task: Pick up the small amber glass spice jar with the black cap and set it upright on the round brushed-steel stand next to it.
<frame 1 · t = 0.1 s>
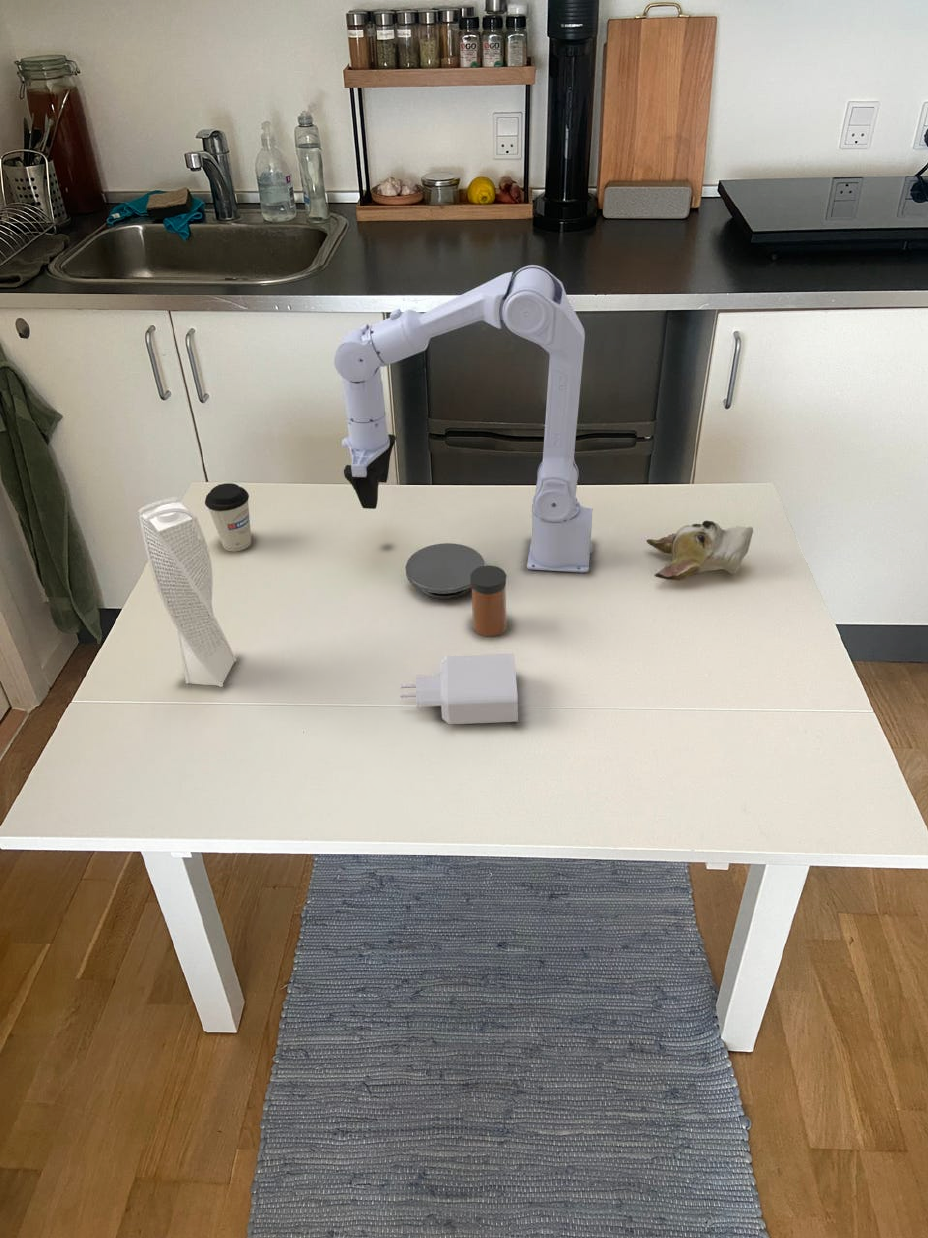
hand: (375, 494, 145), 10 cm above the table, tool pointing down, fingers open, 7 cm apart
charger: (459, 703, 123), on the table
ceramic sculpture: (697, 569, 144), on the table
spice jar: (489, 626, 135), on the table
skyscraper: (211, 674, 129), on the table
steel stand: (446, 581, 143), on the table
coffee cup: (237, 544, 154), on the table
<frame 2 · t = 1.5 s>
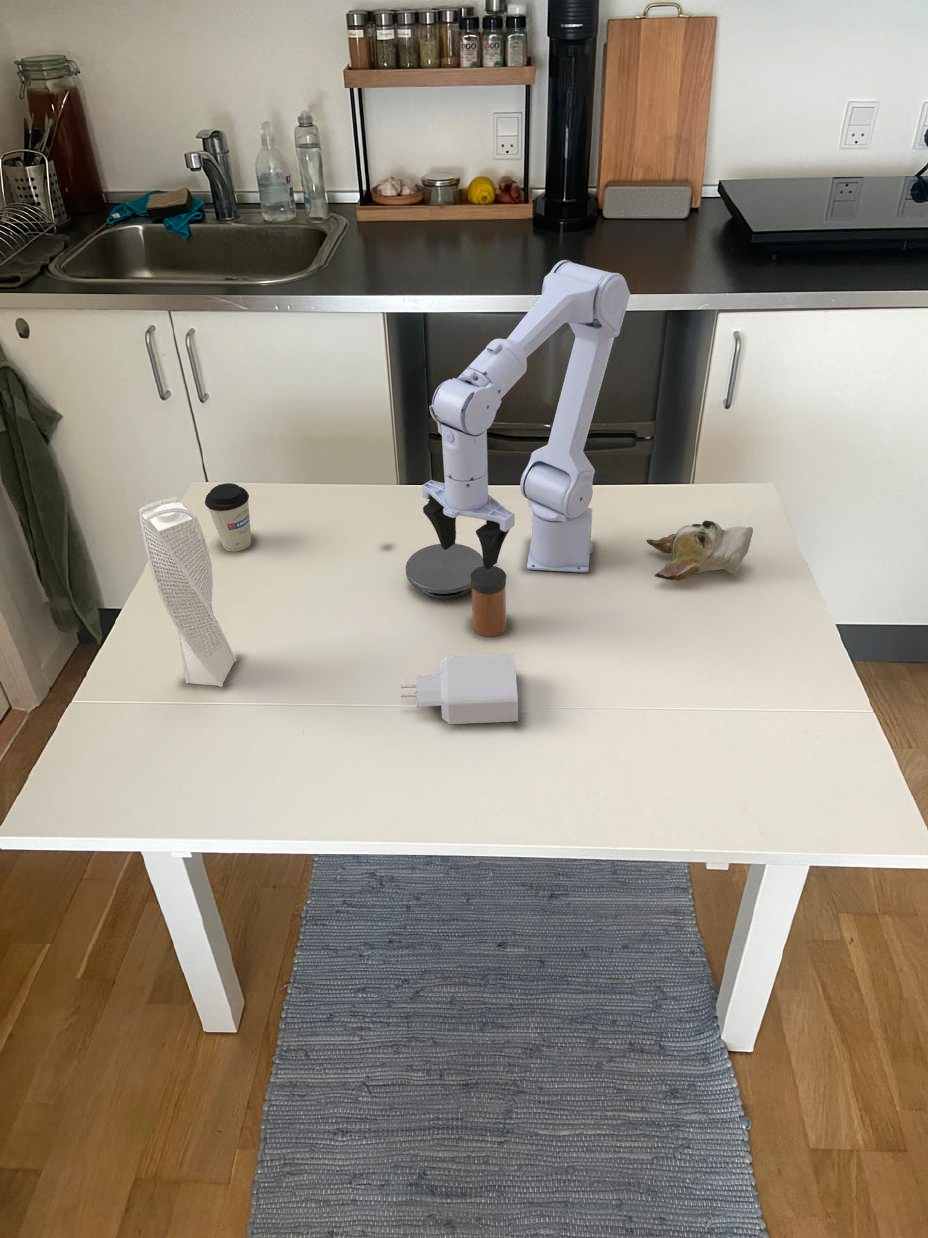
hand: (469, 555, 131), 10 cm above the table, tool pointing down, fingers open, 7 cm apart
nothing on the table moved.
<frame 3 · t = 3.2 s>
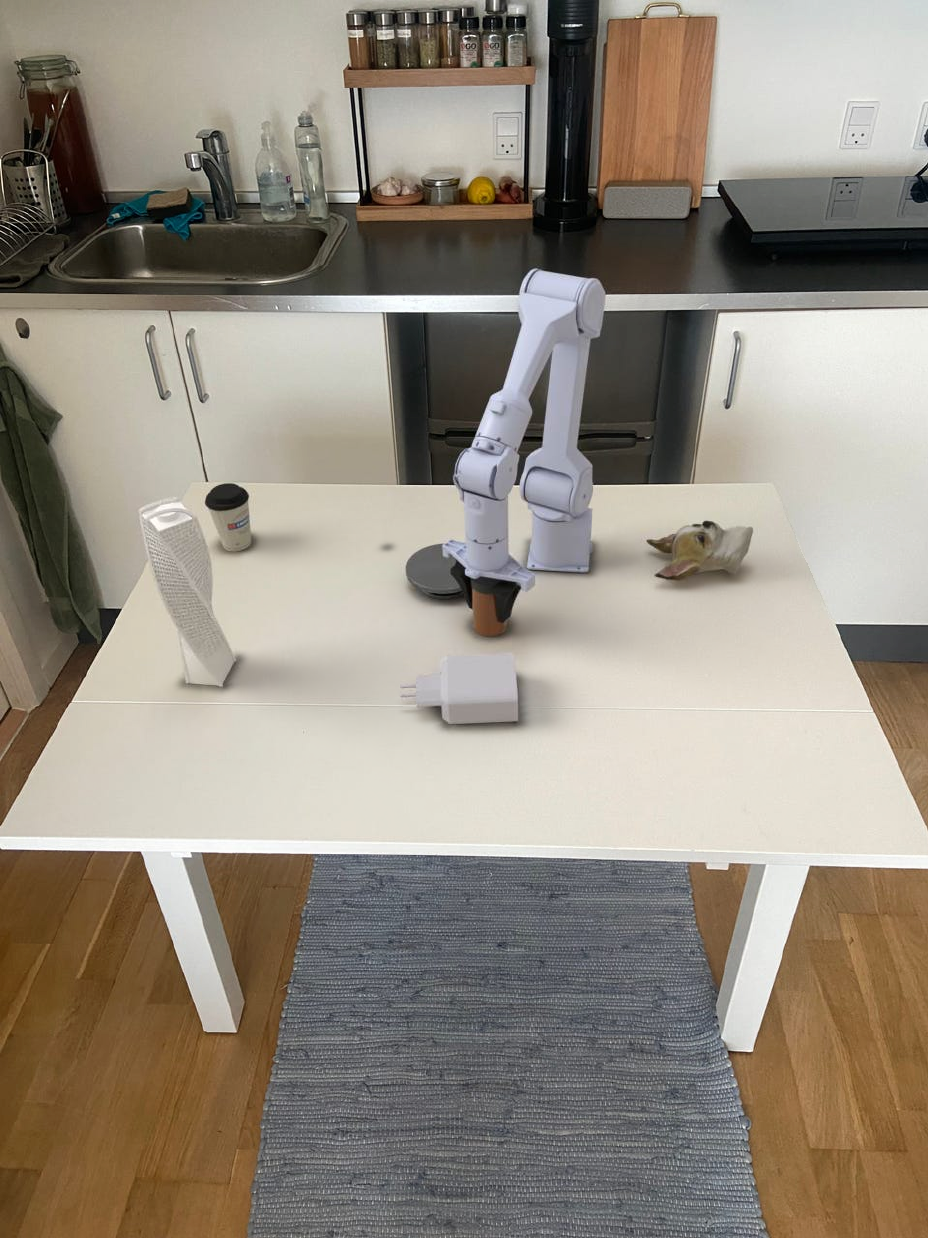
hand: (489, 611, 133), 3 cm above the table, tool pointing down, fingers closed on spice jar, 5 cm apart
spice jar: (489, 626, 135), on the table, touching gripper
everything else where it was.
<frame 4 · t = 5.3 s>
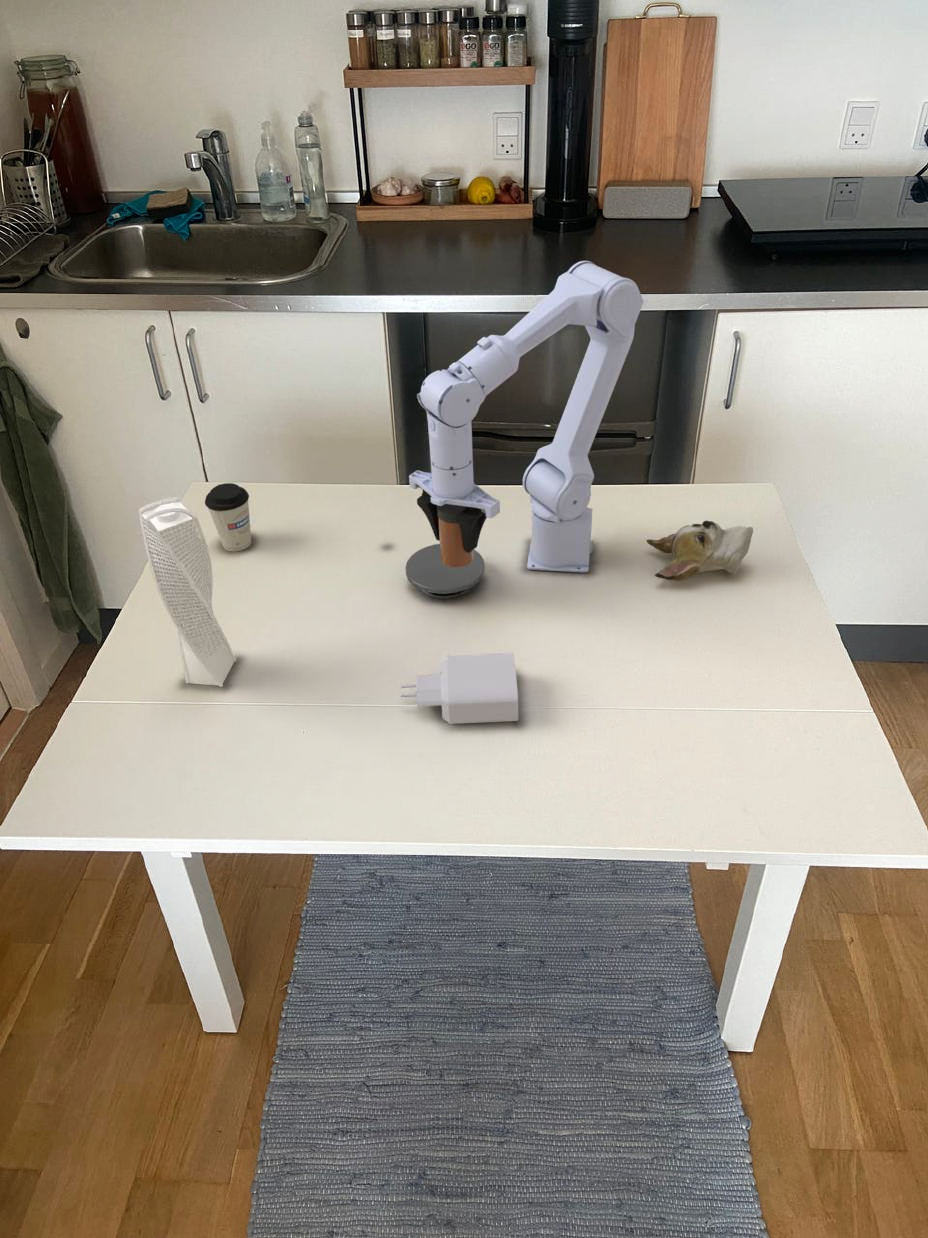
hand: (456, 542, 135), 9 cm above the table, tool pointing down, fingers closed on spice jar, 5 cm apart
spice jar: (457, 557, 136), point 7 cm above the table, touching gripper
everything else where it was.
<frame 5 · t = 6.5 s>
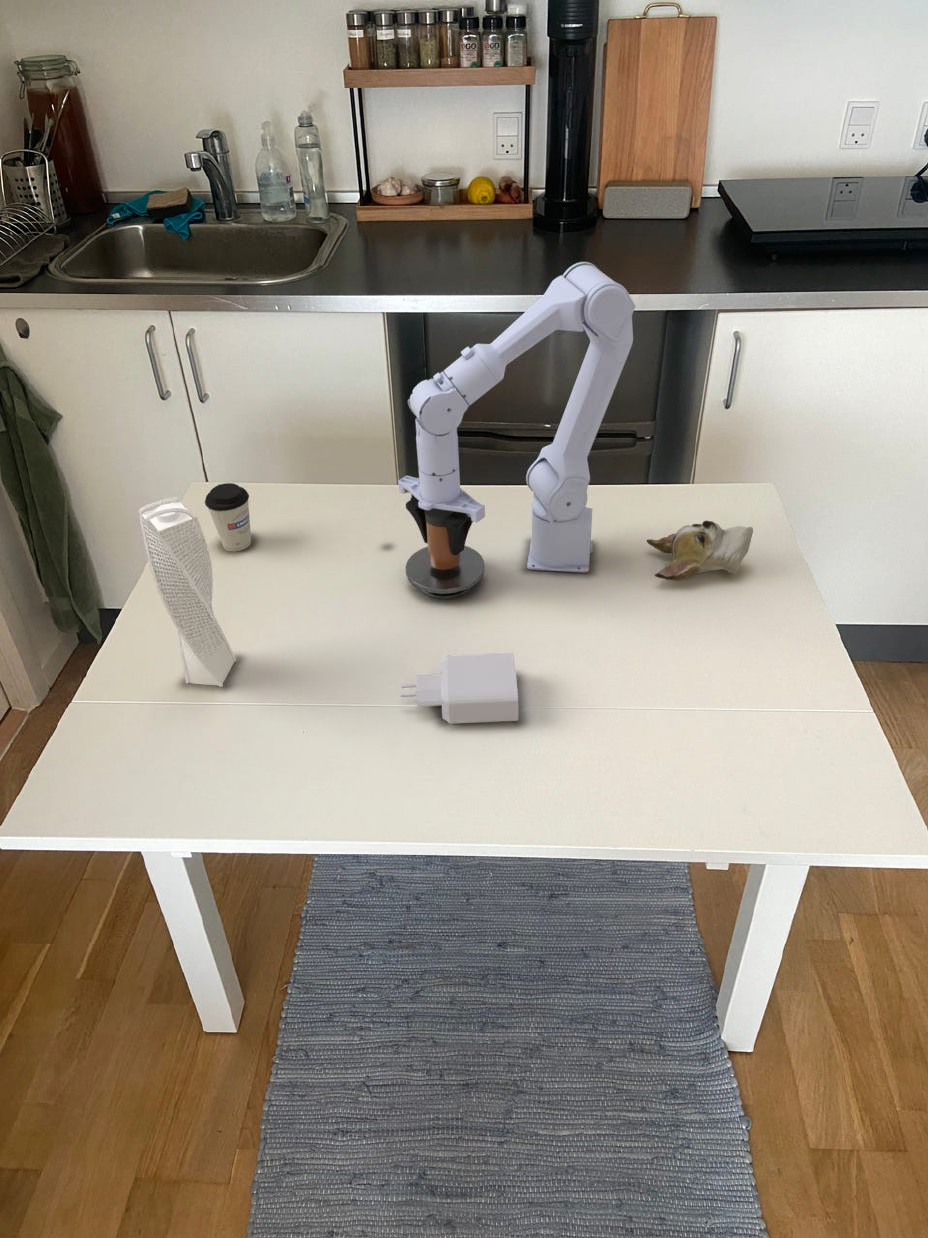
hand: (443, 545, 139), 7 cm above the table, tool pointing down, fingers closed on spice jar, 5 cm apart
spice jar: (444, 560, 141), point 4 cm above the table, touching gripper
everything else where it was.
when the fingers open (6 cm above the table, at t = 7.3 s): spice jar stays where it is, resting on steel stand.
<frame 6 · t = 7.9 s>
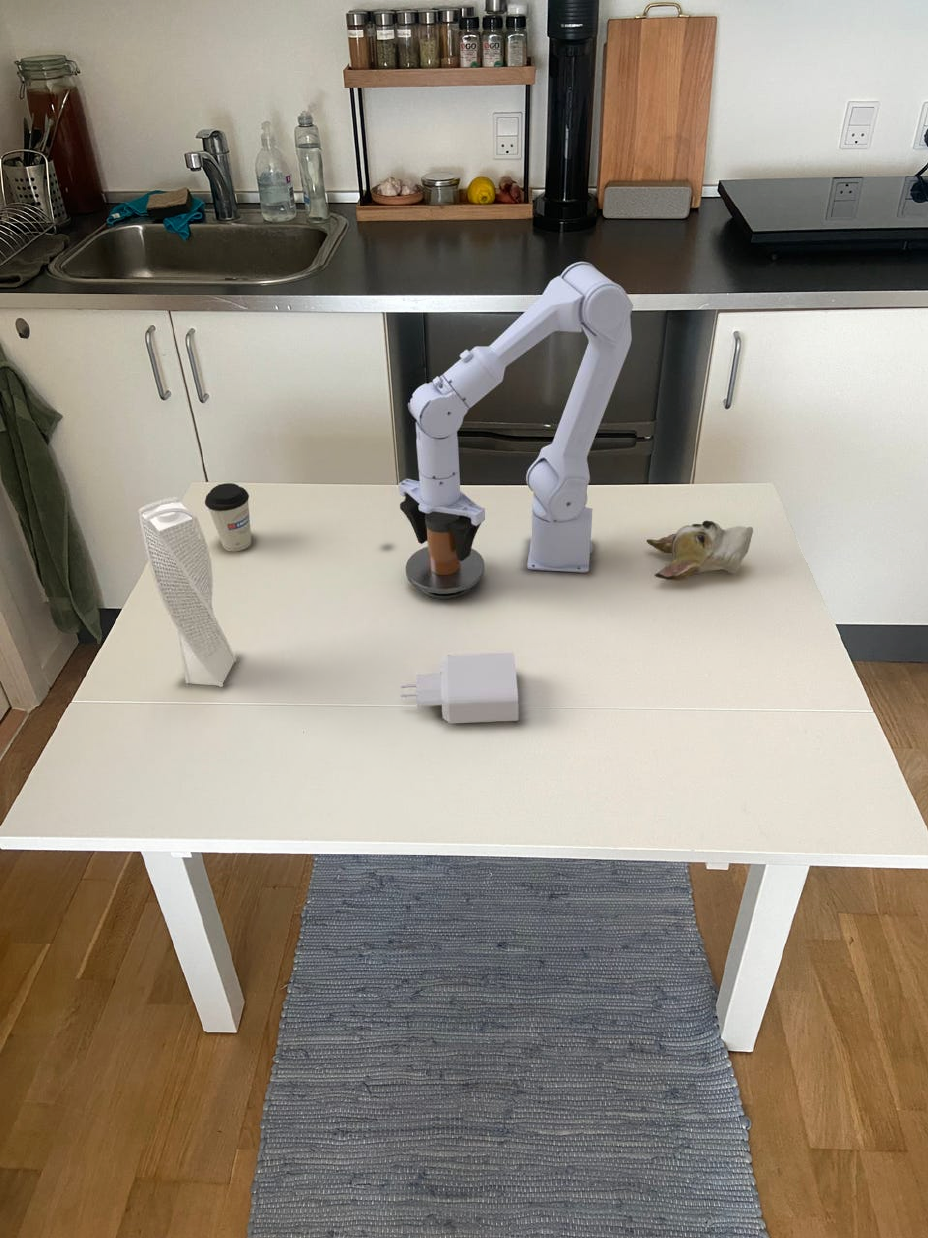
hand: (444, 548, 140), 6 cm above the table, tool pointing down, fingers open, 7 cm apart
spice jar: (445, 565, 141), point 3 cm above the table, touching steel stand
everything else where it was.
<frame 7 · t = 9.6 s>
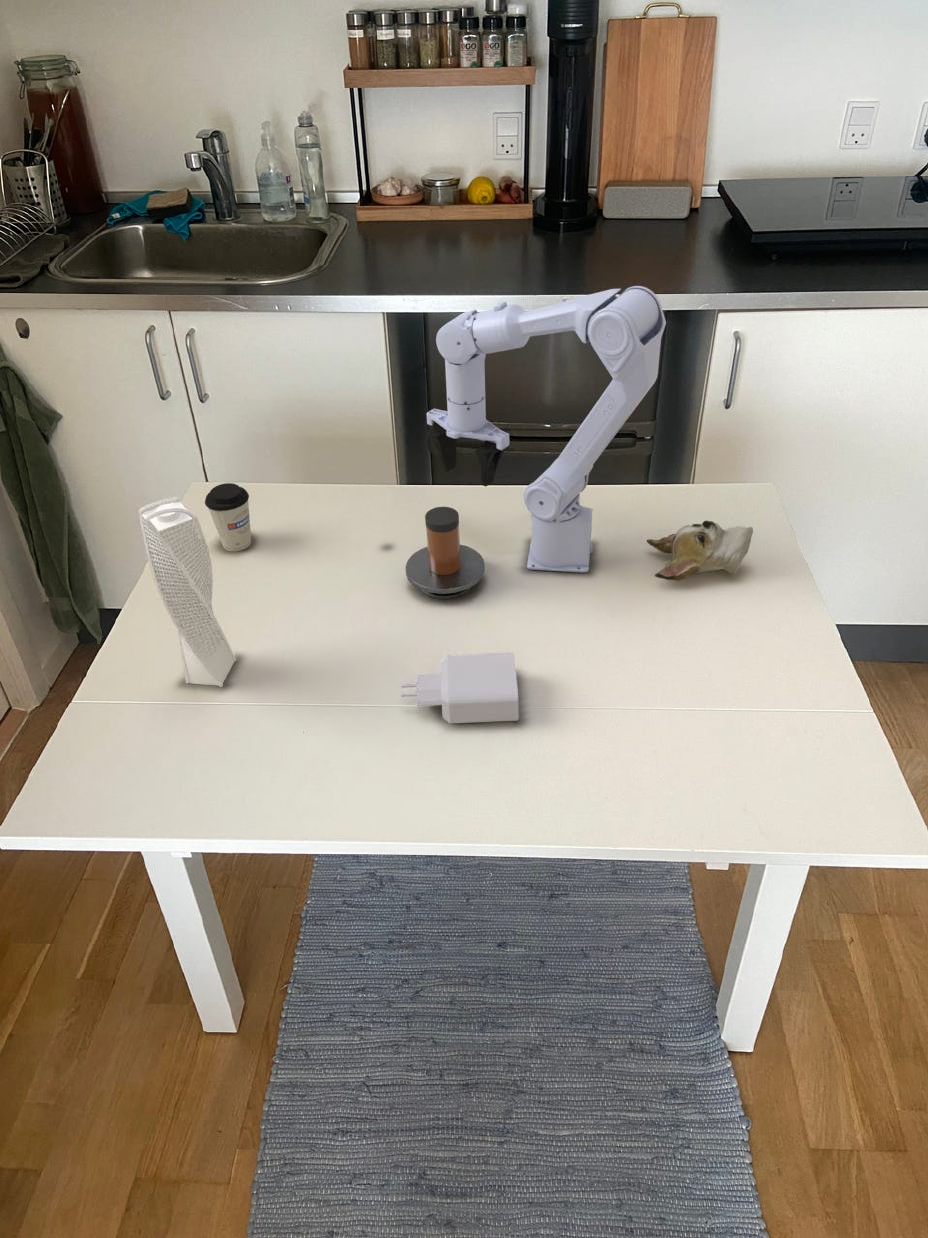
hand: (468, 476, 147), 10 cm above the table, tool pointing down, fingers open, 7 cm apart
nothing on the table moved.
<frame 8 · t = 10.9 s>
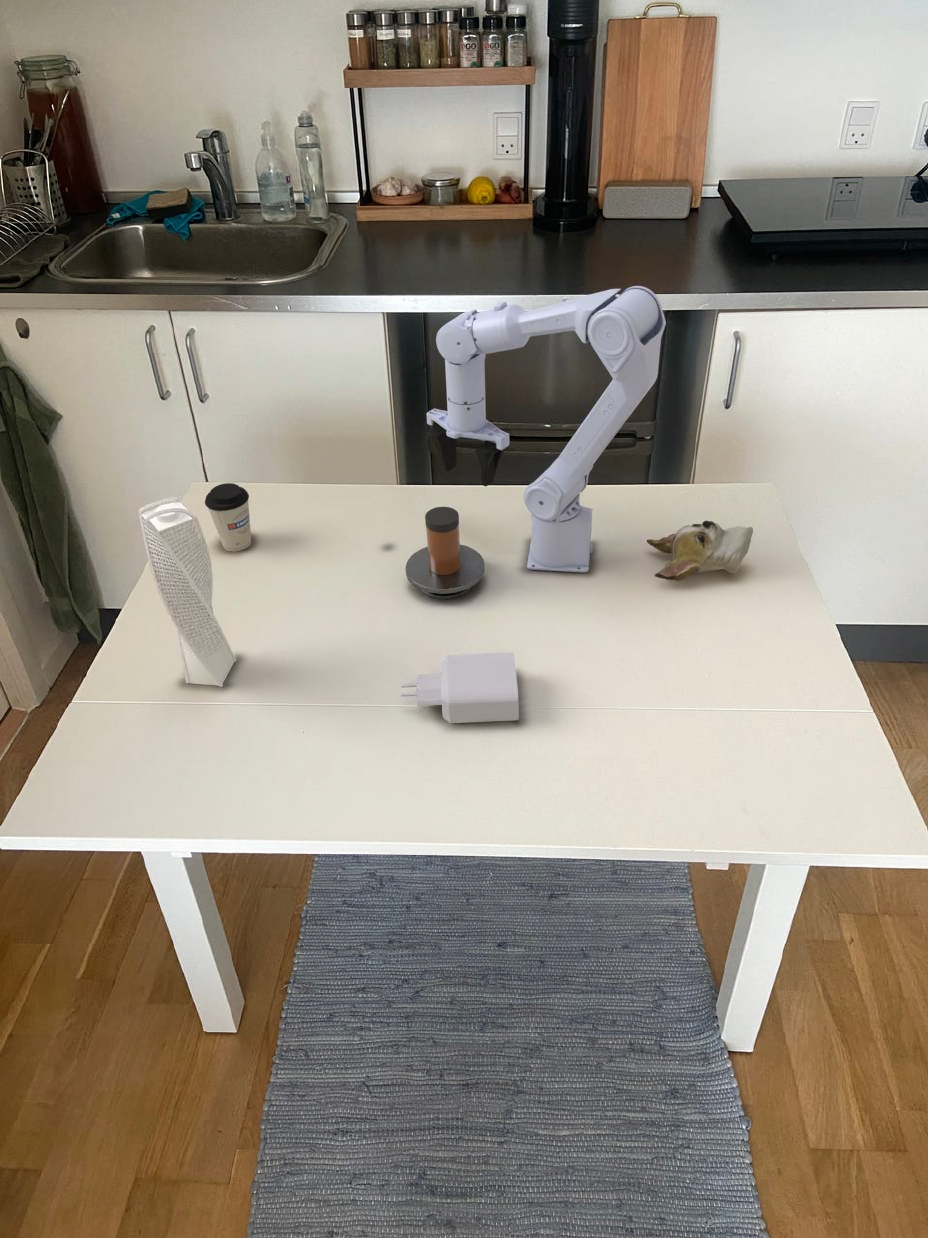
hand: (468, 476, 147), 10 cm above the table, tool pointing down, fingers open, 7 cm apart
nothing on the table moved.
at the end: spice jar 0.1 cm off-centre on the steel stand, point 3.0 cm above the steel stand's base; spice jar tilted 0°; the gripper is holding nothing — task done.
